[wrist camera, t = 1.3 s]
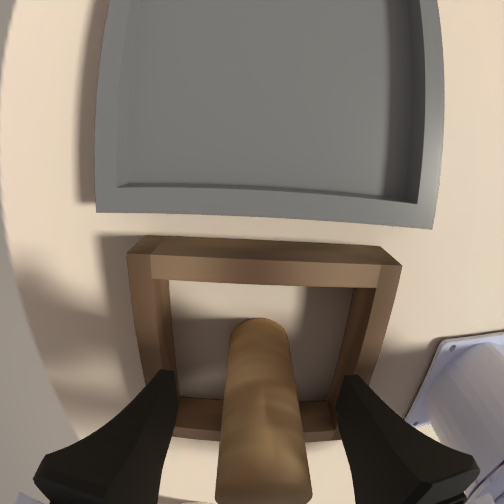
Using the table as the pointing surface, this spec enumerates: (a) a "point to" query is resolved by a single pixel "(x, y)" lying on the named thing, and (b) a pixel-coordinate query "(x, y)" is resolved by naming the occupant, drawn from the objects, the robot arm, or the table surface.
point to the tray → (271, 109)
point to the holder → (263, 273)
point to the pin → (261, 422)
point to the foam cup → (195, 503)
